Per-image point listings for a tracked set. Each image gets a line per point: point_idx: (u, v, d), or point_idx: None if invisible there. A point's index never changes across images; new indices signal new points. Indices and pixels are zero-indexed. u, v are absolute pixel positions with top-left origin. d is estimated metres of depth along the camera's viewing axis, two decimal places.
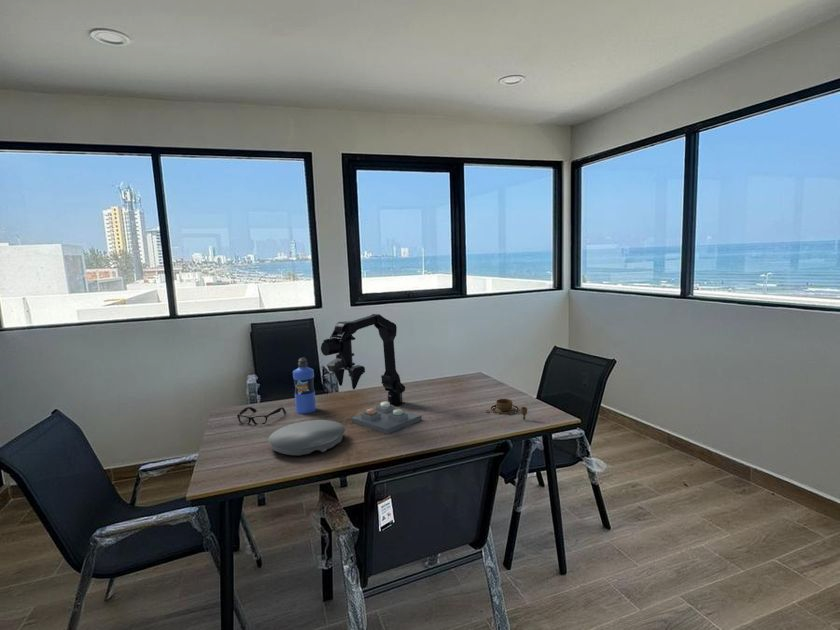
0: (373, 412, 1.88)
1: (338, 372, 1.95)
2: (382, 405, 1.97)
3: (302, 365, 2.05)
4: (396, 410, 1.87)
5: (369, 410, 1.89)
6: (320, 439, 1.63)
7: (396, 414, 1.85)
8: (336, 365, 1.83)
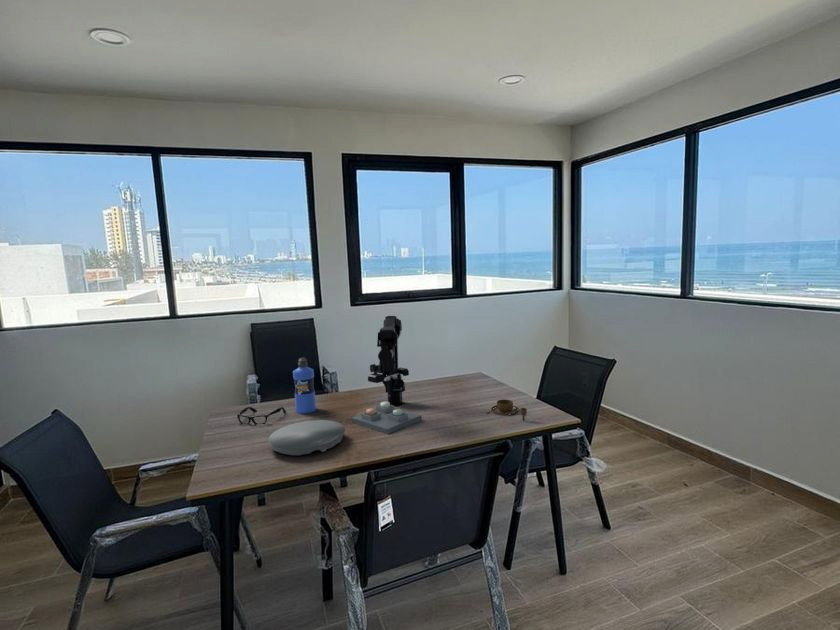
0: (373, 412, 1.88)
1: None
2: (382, 405, 1.97)
3: (302, 365, 2.05)
4: (396, 410, 1.87)
5: (369, 410, 1.89)
6: (320, 439, 1.63)
7: (396, 414, 1.85)
8: None
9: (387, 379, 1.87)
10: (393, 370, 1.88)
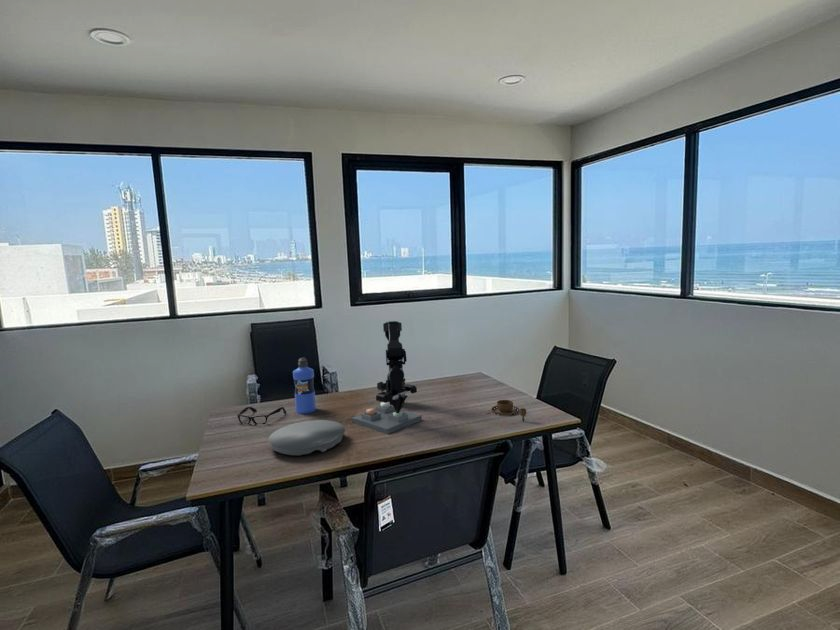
0: (373, 412, 1.88)
1: None
2: (382, 405, 1.97)
3: (302, 365, 2.05)
4: None
5: (369, 410, 1.89)
6: (320, 439, 1.63)
7: (396, 416, 1.85)
8: None
9: (395, 398, 1.83)
10: (401, 388, 1.84)
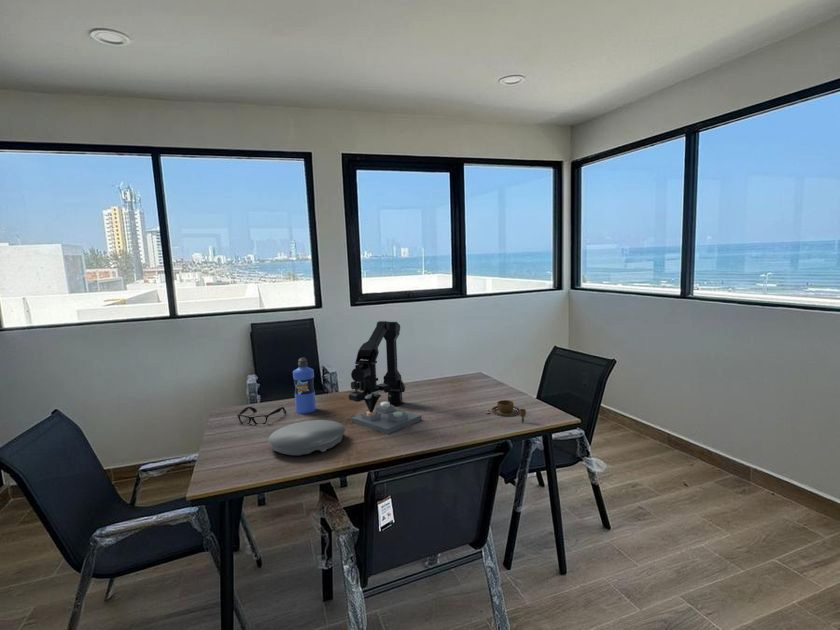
0: (373, 414, 1.88)
1: None
2: (382, 405, 1.97)
3: (302, 365, 2.05)
4: (396, 412, 1.87)
5: (369, 412, 1.89)
6: (320, 439, 1.63)
7: (396, 416, 1.85)
8: None
9: (368, 397, 1.85)
10: (374, 388, 1.87)
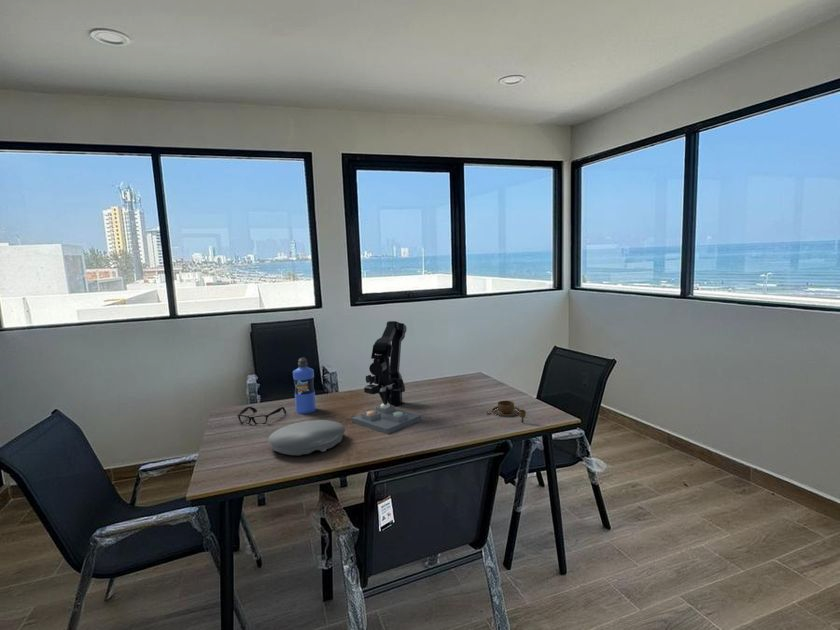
0: (373, 414, 1.88)
1: None
2: (382, 407, 1.97)
3: (302, 365, 2.05)
4: (396, 412, 1.87)
5: (369, 412, 1.89)
6: (320, 439, 1.63)
7: (396, 416, 1.85)
8: None
9: (383, 390, 1.94)
10: (388, 381, 1.95)
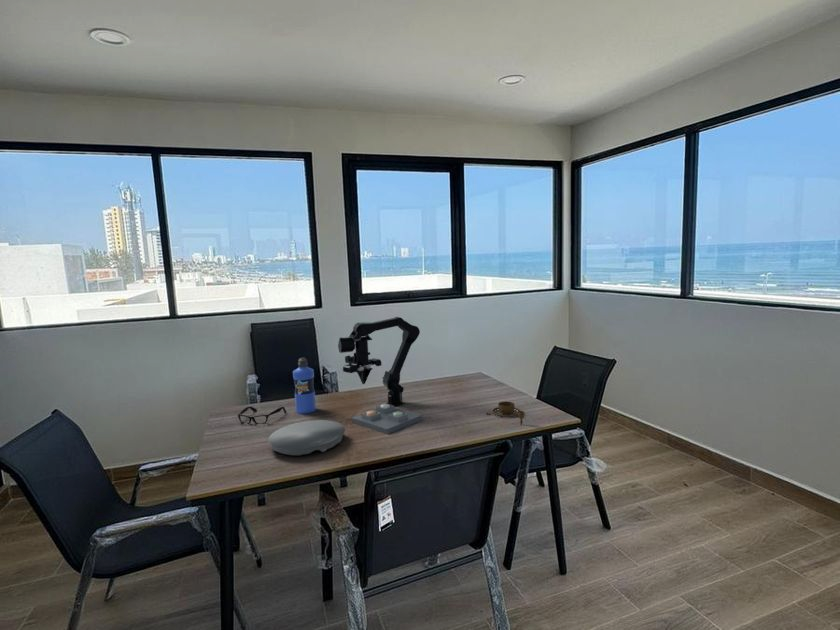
0: (373, 414, 1.88)
1: None
2: (382, 407, 1.97)
3: (302, 365, 2.05)
4: (396, 412, 1.87)
5: (369, 412, 1.89)
6: (320, 439, 1.63)
7: (396, 416, 1.85)
8: None
9: (361, 369, 2.03)
10: (366, 361, 2.04)
